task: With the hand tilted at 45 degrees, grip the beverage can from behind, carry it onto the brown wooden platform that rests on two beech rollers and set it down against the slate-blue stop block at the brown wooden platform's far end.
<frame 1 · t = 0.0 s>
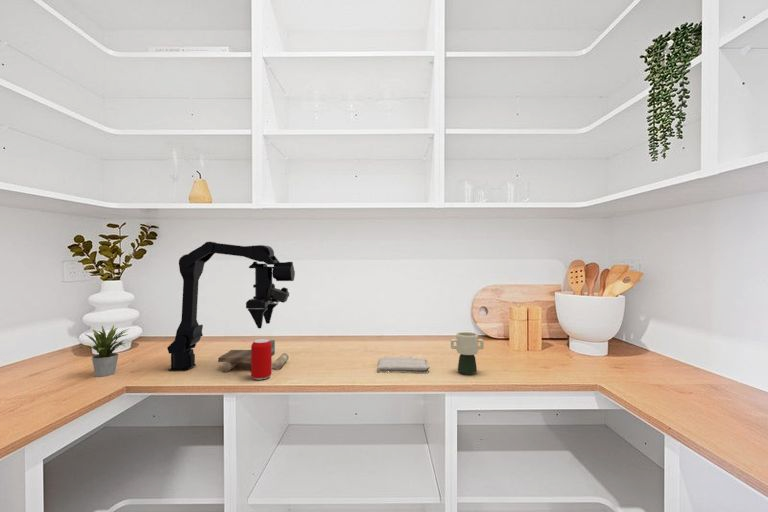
hand: (263, 325, 129), 15 cm above the table, tool pointing down, fingers open, 9 cm apart
washcloth: (403, 370, 129), on the table
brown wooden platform: (247, 366, 131), on the table
house plant: (106, 375, 122), on the table
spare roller: (280, 365, 132), on the table
beverage can: (261, 378, 118), on the table
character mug: (467, 373, 123), on the table
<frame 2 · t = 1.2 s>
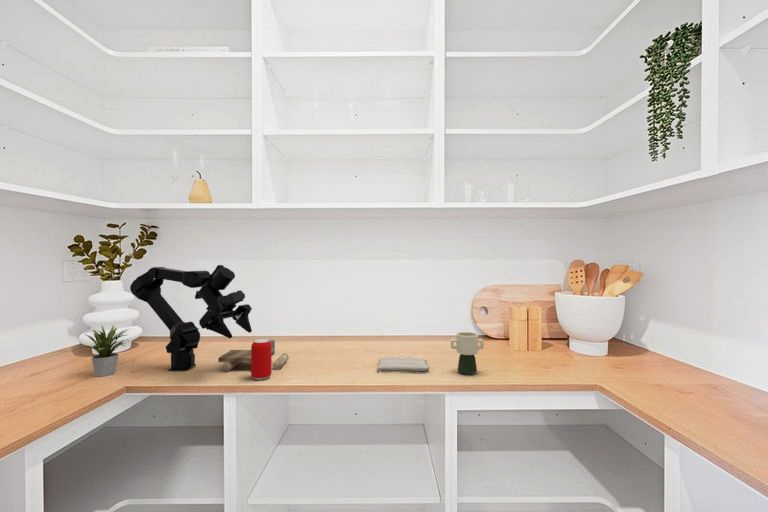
hand: (241, 334, 121), 13 cm above the table, tool tilted 45°, fingers open, 9 cm apart
nothing on the table moved.
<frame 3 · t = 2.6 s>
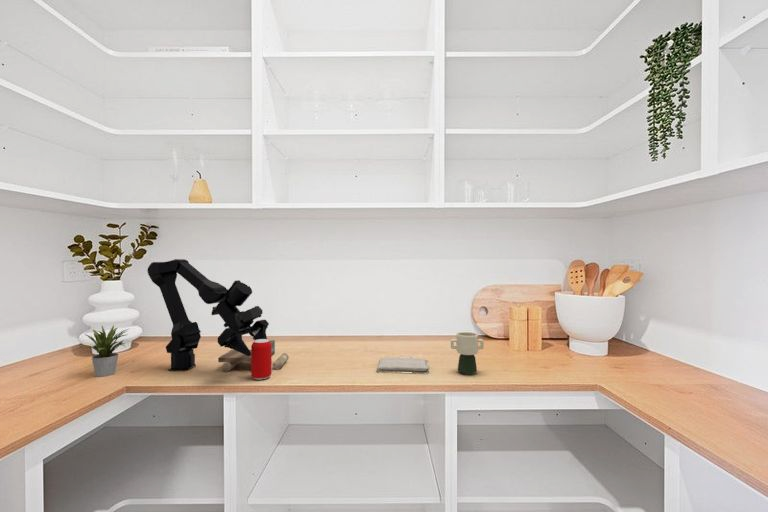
hand: (259, 351, 118), 8 cm above the table, tool tilted 45°, fingers open, 9 cm apart
nothing on the table moved.
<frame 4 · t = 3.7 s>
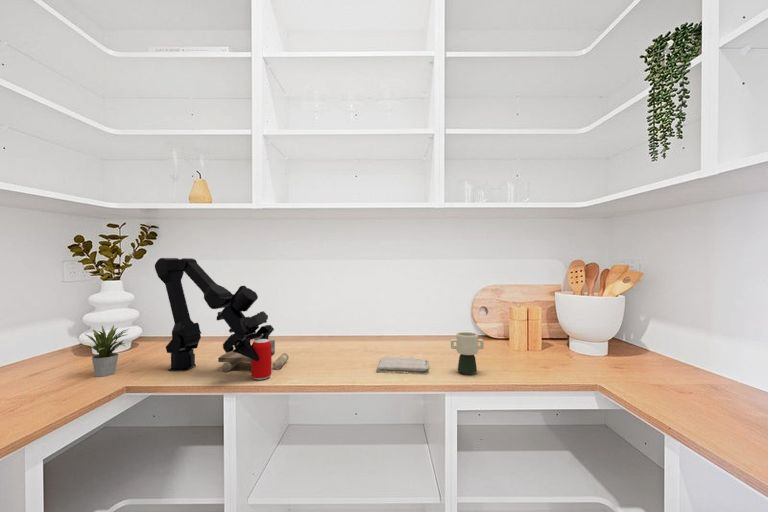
hand: (265, 357, 118), 7 cm above the table, tool tilted 45°, fingers closed on beverage can, 6 cm apart
beverage can: (261, 378, 118), on the table, touching gripper
everything else where it was.
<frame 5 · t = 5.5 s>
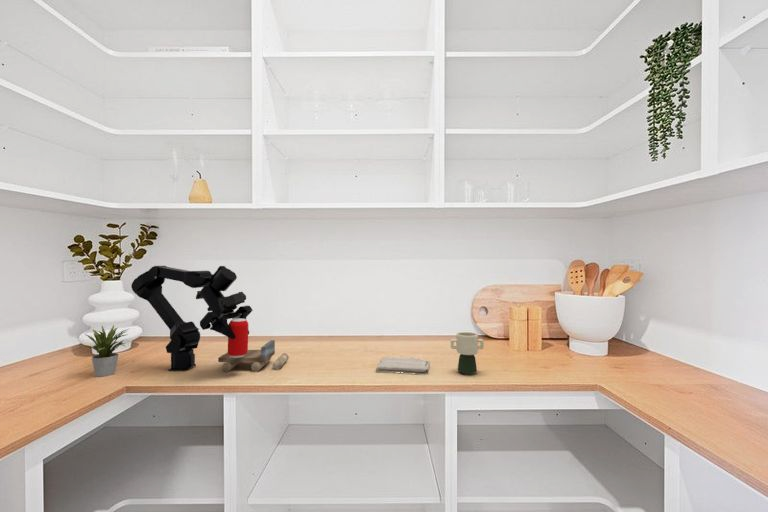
hand: (241, 336, 121), 13 cm above the table, tool tilted 45°, fingers closed on beverage can, 6 cm apart
beverage can: (237, 356, 121), point 6 cm above the table, touching gripper
everything else where it was.
when the fingers open (12 cm above the table, at t = 7.2 s): beverage can stays where it is, resting on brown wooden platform.
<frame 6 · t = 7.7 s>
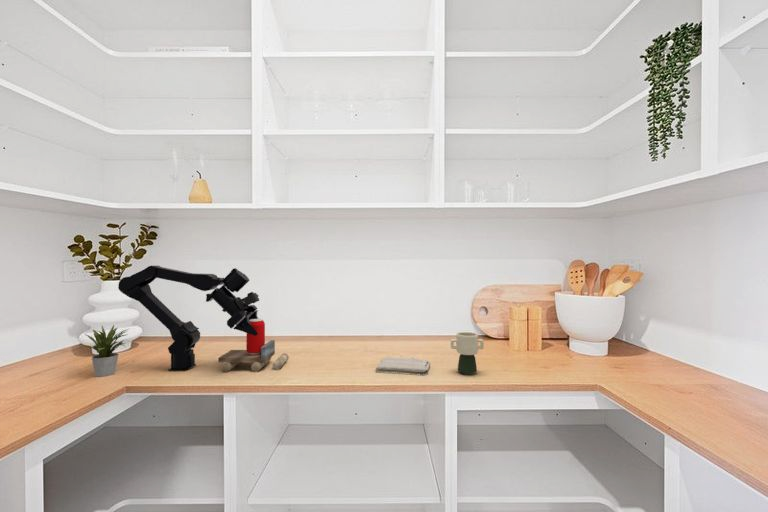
hand: (260, 332, 131), 12 cm above the table, tool tilted 45°, fingers open, 9 cm apart
beverage can: (255, 354, 131), point 4 cm above the table, touching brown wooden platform
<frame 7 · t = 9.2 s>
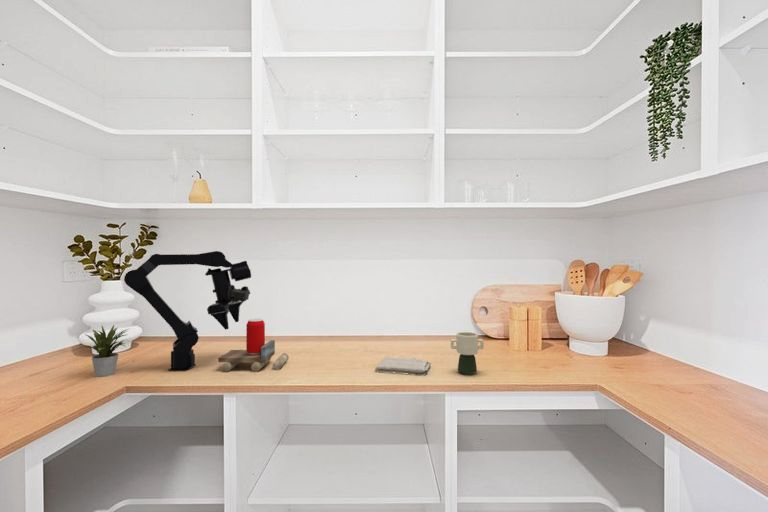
hand: (232, 325, 137), 13 cm above the table, tool pointing down, fingers open, 9 cm apart
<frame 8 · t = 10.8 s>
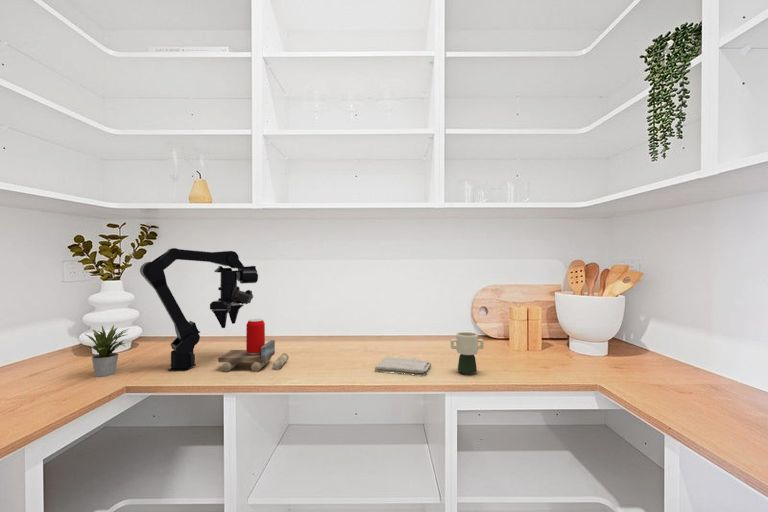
hand: (228, 325, 139), 13 cm above the table, tool pointing down, fingers open, 9 cm apart
at the end: beverage can 0.0 cm from the target spot on the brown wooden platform, point 4.3 cm above the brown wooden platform's base; beverage can tilted 0°; the gripper is holding nothing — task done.
